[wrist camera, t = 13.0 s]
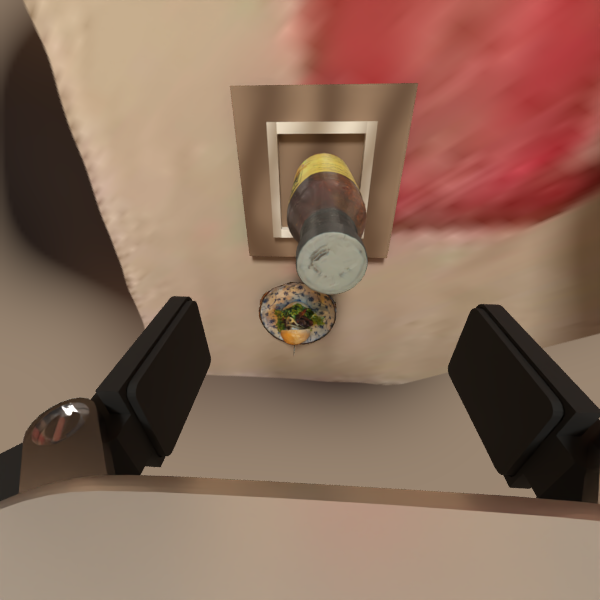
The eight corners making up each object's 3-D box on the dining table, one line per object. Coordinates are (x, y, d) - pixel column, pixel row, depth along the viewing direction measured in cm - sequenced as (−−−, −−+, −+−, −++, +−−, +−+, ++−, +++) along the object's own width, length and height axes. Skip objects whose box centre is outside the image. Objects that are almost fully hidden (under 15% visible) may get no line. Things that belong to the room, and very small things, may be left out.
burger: (349, 293, 42) (355, 325, 36) (316, 346, 48) (316, 381, 42) (274, 264, 40) (266, 291, 33) (250, 323, 46) (239, 356, 40)
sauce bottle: (289, 159, 30) (255, 211, 14) (346, 144, 29) (383, 182, 13) (302, 217, 34) (288, 315, 17) (354, 206, 33) (391, 298, 16)
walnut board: (413, 84, 28) (421, 82, 26) (384, 253, 38) (388, 261, 35) (233, 87, 28) (227, 85, 26) (251, 251, 38) (248, 259, 36)
